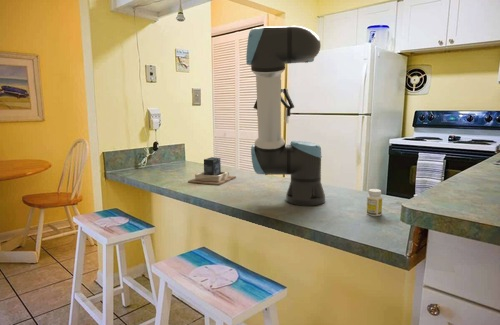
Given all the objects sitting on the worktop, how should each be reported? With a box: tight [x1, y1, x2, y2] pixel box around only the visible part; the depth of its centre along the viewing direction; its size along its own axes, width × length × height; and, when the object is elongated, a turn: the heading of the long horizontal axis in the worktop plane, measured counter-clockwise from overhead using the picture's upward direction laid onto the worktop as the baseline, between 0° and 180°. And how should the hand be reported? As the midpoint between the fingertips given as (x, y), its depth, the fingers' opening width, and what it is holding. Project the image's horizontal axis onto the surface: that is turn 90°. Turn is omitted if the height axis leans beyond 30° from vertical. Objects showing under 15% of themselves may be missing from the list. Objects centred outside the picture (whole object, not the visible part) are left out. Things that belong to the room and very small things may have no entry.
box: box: [203, 156, 222, 176], centre depth 170 cm, size 8×6×11 cm
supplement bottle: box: [366, 188, 383, 217], centre depth 113 cm, size 5×5×8 cm
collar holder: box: [187, 171, 237, 186], centre depth 171 cm, size 18×18×4 cm
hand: (273, 123), depth 163 cm, fingers open, 13 cm apart
